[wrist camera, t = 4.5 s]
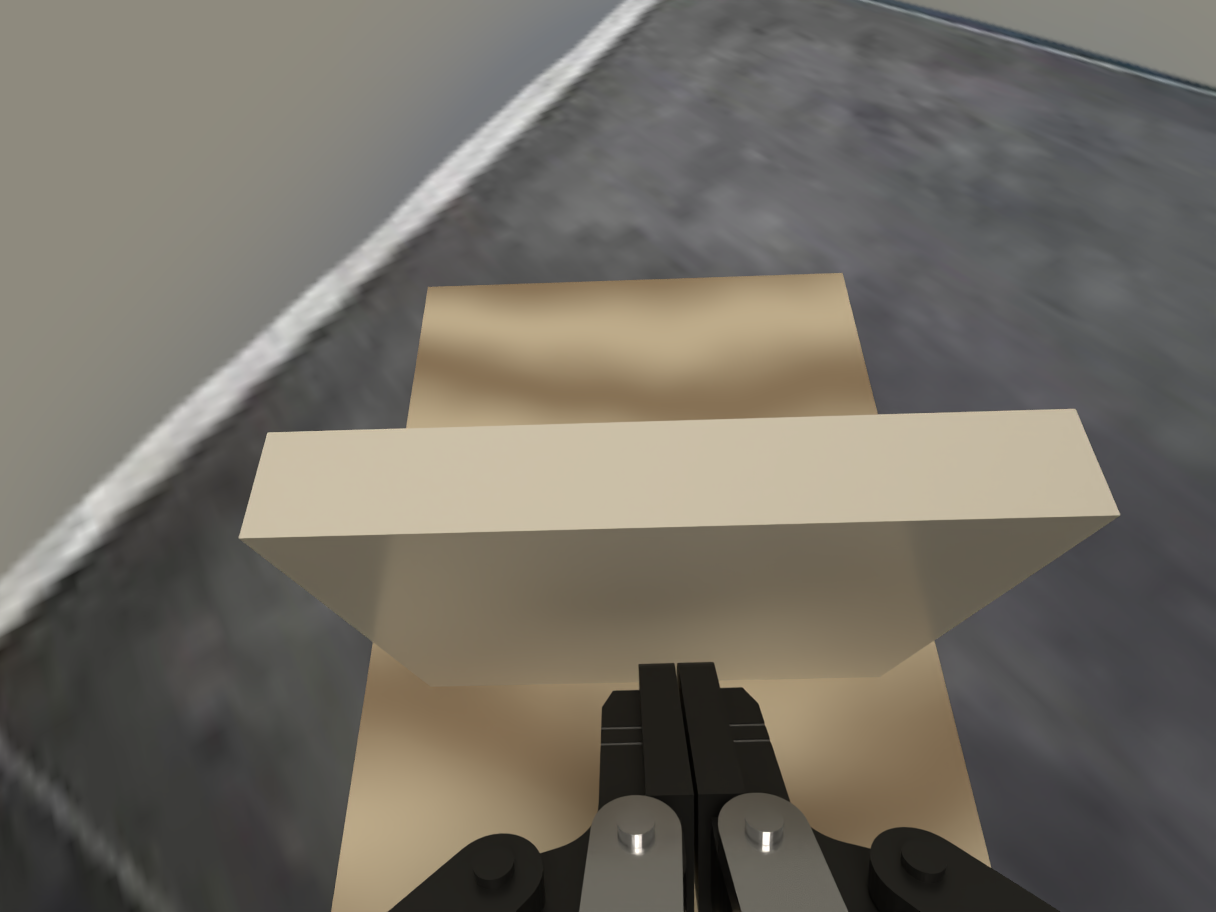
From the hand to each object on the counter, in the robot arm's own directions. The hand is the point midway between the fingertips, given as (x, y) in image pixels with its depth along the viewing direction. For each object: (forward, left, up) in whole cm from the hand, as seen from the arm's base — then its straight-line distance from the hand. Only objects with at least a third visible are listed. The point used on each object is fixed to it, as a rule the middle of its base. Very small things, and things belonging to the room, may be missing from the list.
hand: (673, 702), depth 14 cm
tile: (-2, -2, -8) cm, 8 cm away
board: (-5, -4, -9) cm, 12 cm away
